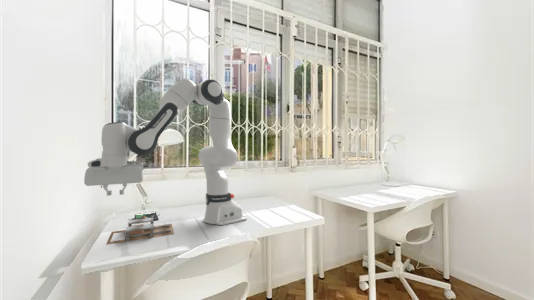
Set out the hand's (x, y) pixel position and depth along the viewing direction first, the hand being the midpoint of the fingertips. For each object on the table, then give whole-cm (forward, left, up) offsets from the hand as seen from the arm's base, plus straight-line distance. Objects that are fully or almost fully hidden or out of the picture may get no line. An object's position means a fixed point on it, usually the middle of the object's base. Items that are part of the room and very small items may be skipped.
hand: (115, 194), depth 98 cm
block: (-7, 0, -18) cm, 19 cm away
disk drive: (-10, -22, -20) cm, 31 cm away
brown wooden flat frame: (-10, 0, -19) cm, 22 cm away
